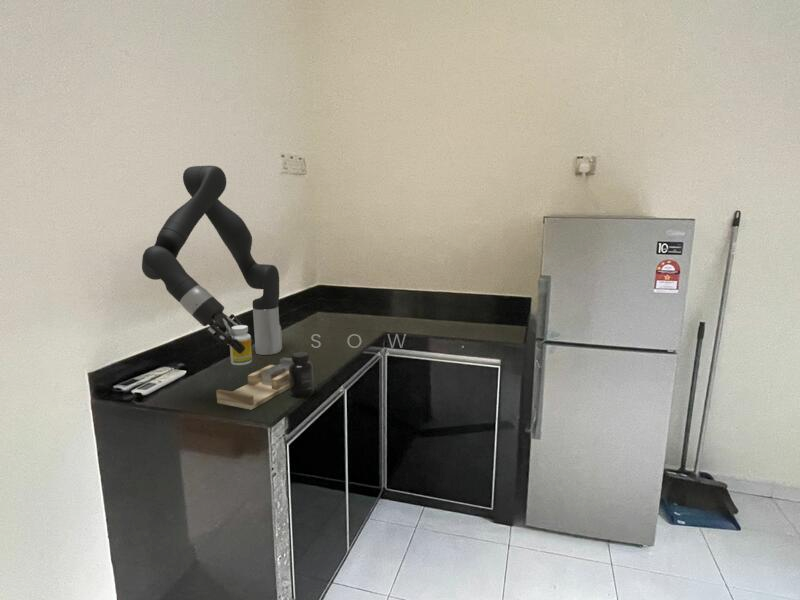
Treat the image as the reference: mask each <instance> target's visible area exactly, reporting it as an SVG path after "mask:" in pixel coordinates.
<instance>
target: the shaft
mask: <svg viewBox="0 0 800 600" xmlns="http://www.w3.org/2000/svg"><path fill="white" fill-rule="evenodd" d="M291 363H293V362H292V357H282V358H280V359H279V364H277V365H276V364H275V366H274V367H272V368H270V369H268V370H266V371H264V372H262V373H261V379H262V384H264V385H270V386H272V382H271V379H273V378H275V377H277V376H279V375H281V374H283V373H285V372H287V371H289V366H290V364H291Z"/></svg>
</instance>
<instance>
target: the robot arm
mask: <svg viewBox="0 0 800 600" xmlns="http://www.w3.org/2000/svg"><path fill="white" fill-rule="evenodd" d="M182 174H183V175H182V182H183V185H184V187H185V190H186V191H187V193H188V194H189V195H190V197H191V198H190V199H188V200H187V202H185V203H183V205H181V206H179V208H177V209H176V210H175V211H174V212H173V213H171V214H170V215H169V217H168V218H167V219H166V220H165V223H164V224H163V225H162V227H161V229H160V230H159V231H158V234H157V237H156V241H155V243H154V245H153V246H152V245H151V246H148V247H147V248H146V249H145V250H144V252H143V255H142V260H141V270H142V273H143V274H144V276H145V277H147V278H148V279H150V280H156V281H158V280H161V281H162V282H163V283H164V286H165V289H166V290H167V292H168V293H169V294H170V295H171V296H172V297H173V298H174V299H175V300H176V301H177V302H178V303H179V304H180V305H181V306H182V307H183V308H184V310H185V311H186V312H187V313H188V314H190V315H191V317H192V318H194V319H195V320H196V321H197V322H198V323H199V324H201V325H202V326H203V327H207V326H209V328H207V330H206V333H207V334H208V335H209V336H211V337H212V338H213V339H215V340H216V341H217V342H218V343H220V344H221V345H223V346H225V345H227V346H229V347H230V346H231V347H233V348H234V349H235V350H236V351H237V352H238V353H239V354H241V353H242V352H243V351H244V350H245V347H244V346H243V345H242V344H241V343H240V342H239V341H238V340H237V339H235V337H234V336H233V333H232V329H231V328H232V327H233V326H238V325H244V324H243V323H242V322H241V321H240V320H239V319H238V317H237V316H235V315H234V314H233V313H231V314H230V315H229V316H228V315H227V314H225V312H224V310H225V306H223V304H222V303H221V302H220V301H219V300H218V299H216V298H215V297H214V295H212V294H211V293H210V292H209V290H207V289H206V288H204V287H203V286H201V285H200V283H198V282H197V281H196V280H195V279H194V278H193V277H191V276H190V275H189V274H188V273H187V271H186V270H185V268H184V267H183V265H181V262H180V261H178V259H177V257H178V255H179V253H180V251H181V249H182V248H183V246H185V243H186V242H187V241H188V239H189V237H190V235H191V233H192V232H193V231H194V229H195V227H196V226H197V225H198V223H199V221H201V219H202V218H203V216H204V215H205V216H206V217H207V219H208V220H209V222H210V223H211V225H212V226H213V227H214V229H215V230H216V232H217V234H218V236H219V237H220V239H221V240H222V242H223V243H224V245H225V247H227V250H228V251H229V252H230V254H231V256H232V258H233V259H234V260H235V262H236V264H237V266H238V268H239V270H240V273H241V275H242V277H243V278H244V281H245V282H246V285H248V286H249V287H250V288H252V289H255V290H262V296H260V297H258V298H255V299H253V300H252V315H253V331H254V340H253V339H252V338H251V346H252V345H253V344H254V347H255V354H257V355H262V356H266V355H267V356H268V355H271V356H272V355H275V354H278V353H280V352H281V351H282V350H283V341H282V339H283V337H282V326H281V324H280V314H279V301H280V273H279V269H278V267H276V265H274V264H267V263H266V264H263V263H257V262H256V261H255V259H254V258H253V256H252V253H251V252H252V251H251V250H252V246H253V237H252V234H251V231H250V229H249V228H248V226H247V224H246V223H245V221H244V220H243V219H242V218H241V217H240V215H238V214H237V213H236V212H235V211H233V210H232V209H231V208H229V207H228V206H227V205H225V204H223V203H222V201H220V200H219V198H220V197H221V196H222V194H223V193H224V192H225V190H226V187H227V178H226V177H227V176H226V174H225V172H224V170H223V169H222V168H220V167H219V166H216V165H193V166H189V167H187V168H186V169H185V170H184V171H183V173H182ZM234 339H235V340H234Z"/></svg>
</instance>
